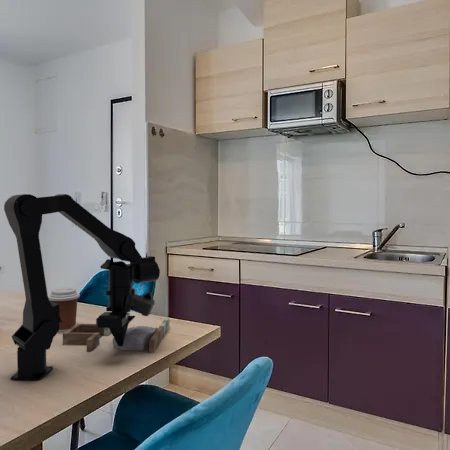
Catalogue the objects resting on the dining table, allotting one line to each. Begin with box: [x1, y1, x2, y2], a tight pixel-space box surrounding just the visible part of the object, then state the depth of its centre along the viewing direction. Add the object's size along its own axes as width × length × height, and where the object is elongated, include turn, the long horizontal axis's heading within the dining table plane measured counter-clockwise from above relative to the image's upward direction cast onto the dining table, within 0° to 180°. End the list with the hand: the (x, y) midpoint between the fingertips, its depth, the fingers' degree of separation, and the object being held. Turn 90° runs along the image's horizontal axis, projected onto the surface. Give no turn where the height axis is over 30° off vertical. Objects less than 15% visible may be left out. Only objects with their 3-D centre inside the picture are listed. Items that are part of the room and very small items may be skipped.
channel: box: [62, 317, 170, 353], centre depth 115 cm, size 22×26×3 cm
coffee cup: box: [48, 287, 81, 333], centre depth 124 cm, size 9×9×12 cm
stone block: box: [112, 325, 159, 352], centre depth 111 cm, size 12×5×10 cm
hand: (120, 345), depth 105 cm, fingers closed
